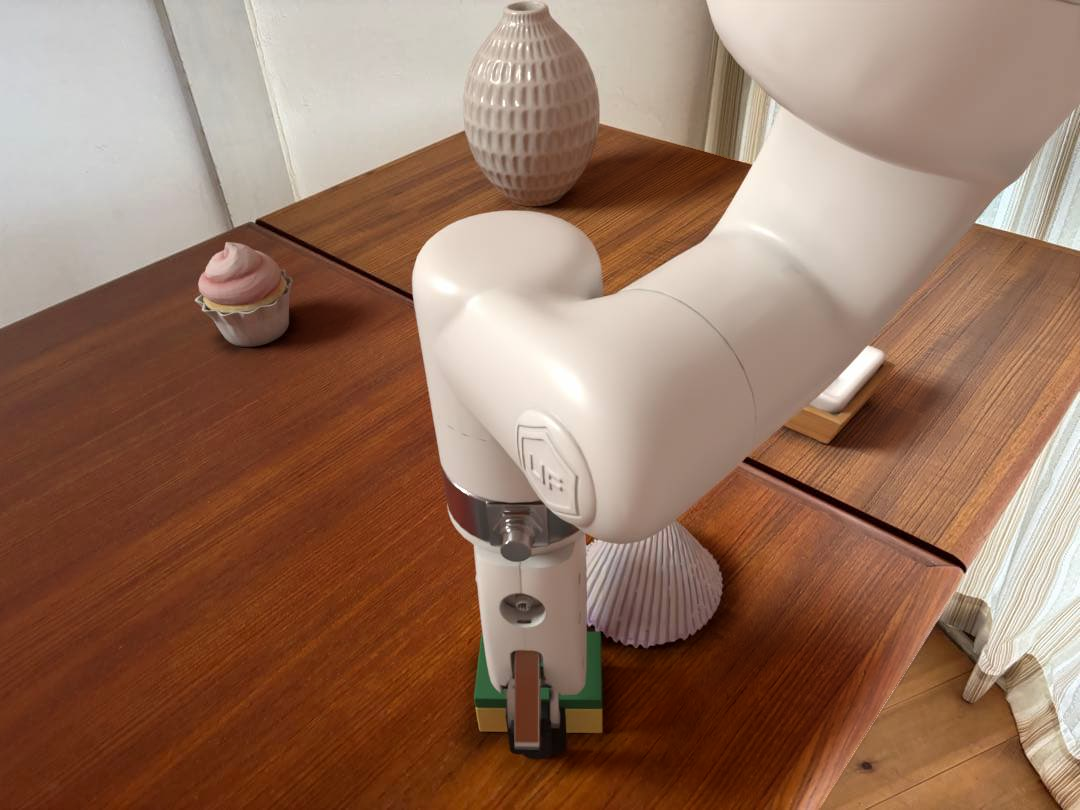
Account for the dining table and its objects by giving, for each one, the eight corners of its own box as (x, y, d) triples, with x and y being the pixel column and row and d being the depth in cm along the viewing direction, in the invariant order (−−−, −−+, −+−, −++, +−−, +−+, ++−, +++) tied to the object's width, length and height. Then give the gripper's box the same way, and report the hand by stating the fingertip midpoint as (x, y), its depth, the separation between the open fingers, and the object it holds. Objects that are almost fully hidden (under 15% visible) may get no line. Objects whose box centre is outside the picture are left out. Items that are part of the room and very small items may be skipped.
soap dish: (887, 399, 72) (899, 350, 69) (834, 460, 66) (845, 410, 63) (756, 349, 79) (762, 302, 75) (698, 401, 73) (702, 352, 70)
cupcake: (206, 318, 88) (176, 230, 81) (297, 298, 90) (274, 211, 84) (211, 367, 81) (178, 275, 74) (309, 344, 83) (285, 253, 77)
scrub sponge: (601, 665, 53) (600, 630, 51) (602, 733, 49) (602, 699, 47) (486, 664, 53) (481, 630, 51) (479, 732, 50) (473, 698, 47)
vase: (465, 225, 101) (443, 29, 87) (478, 170, 114) (460, -9, 100) (601, 222, 100) (600, 22, 87) (598, 167, 113) (598, -15, 99)
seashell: (726, 500, 59) (731, 590, 50) (718, 564, 62) (722, 660, 53) (581, 486, 61) (561, 571, 52) (578, 549, 63) (559, 641, 54)
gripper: (607, 628, 33) (607, 841, 44) (601, 366, 46) (602, 579, 57) (415, 627, 33) (463, 838, 44) (465, 368, 47) (492, 579, 58)
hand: (541, 691), depth 51 cm, fingers open, 6 cm apart
